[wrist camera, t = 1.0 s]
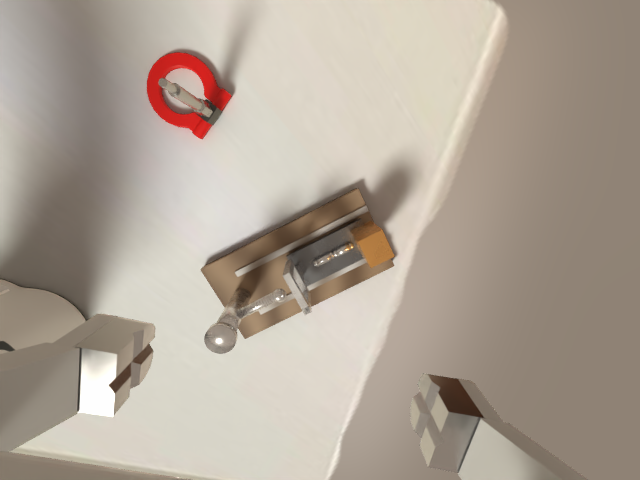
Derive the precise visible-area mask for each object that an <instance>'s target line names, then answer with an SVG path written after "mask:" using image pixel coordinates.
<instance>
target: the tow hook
mask: <svg viewBox="0 0 640 480" xmlns="http://www.w3.org/2000/svg"><path fill="white" fill-rule="evenodd" d="M178 68H187V69H190V70H192V71H194V72H195V73H196V74H197V75H198V76H199V77H200V79H201V81H202V83H203V86H204V95H205V97H206V98H207V99H208V100H210V101H211V102H212V103H211V102H209V101H208V100H207V99H206V100H205V101H204V100H203V99H199V98H196V97H195V96H193V95H192V94H191V93H189V92H188V91H186V90H185V89H183V88H182V87H181V86H179V85H178V84H176V83H171V82H169V81H168V80H166V79H165V77H166V75H167V74H168V73H169V72H170V71H172V70H174V69H178ZM162 88H164V89H165V90H167V91H168V92H169V94H170V95H171V96H172V97H174V98H176V99H178V100H179V101H181V102H183V103H184V104H186V105H188V106H189V107H191V108H192V109H193V111H194V112H195V113H194V112H192V113H190V114H178V113H175V112H174V111H172V110H171V109H170V108H169V107H168V106H167V105H166V103H165V101H164V99H163V95H162ZM147 93H148V97H149V101H150V103H151V105H152V107H153V109H154V110H155V112H156V113H157V114H158V115H159V116H160V117H161V118H162V119H164V120H165V121H166V122H168V123H170V124H173V125H175V126H178V127H183V128H189V129H190V130H192V131H193V132H192V133H193V134H194V135H196V136H197V137H198V138H200V139H203V138H204V136H205V135H206V133H207V132H208V130H209V129H210V127H211V126H212V125H214V123H215V122H216V120H217V119H218V117H219V116H220V114H221V113H222V110H223V108H224V107H225V106H226V104H227V103H228V101H229V100H230V98H231V97H232V96H231V95H230V93H228V92H227V91H226V90H225V89H223V88H222V89H220V88H219V87H218V86H217V83H216V80H215V78H214V76H213V74H212V72H211V71H210V70H209V68H208V67H207V66H206V65H205V64H204V63H203V62H202V61H201V60H199V59H198V58H197V57H195V56H192V55H190V54H187V53H180V52H176V53H171V54H167V55H165V56H163V57H161V58H160V59H159V60H158V61H157V62H156V63H155V64H154V65H153V67H152V68H151V70H150V72H149V75H148V79H147Z"/></svg>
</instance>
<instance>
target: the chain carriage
mask: <svg viewBox="0 0 640 480" xmlns="http://www.w3.org/2000/svg"><path fill="white" fill-rule="evenodd" d="M393 257H395V256H394V254H393V252H392V250H391V247H390V245H389V243H388V241H387V239H386V237H385V234H384V232H383V230H382V229H381V228H379V227H378V226H377V225H376V224H374V223H373V222H372V221H369V222H367V223H365V224H363V222H362V219H361V218H359V219H357V220H355V221H353V222H351V223H349V224H347V225H345V226H343V227H341V228H339V229H337V230H335V231H333V232H331V233H329V234H327V235H325V236H323V237H321V238H319V239H317V240H315V241H313V242H311V243H309V244H307V245H305V246H303V247H301V248H299V249H297V250H295V251H293V252H292V253H290V254H288V255H287V259H288V261H286V262H285V267H284V271H283V278H284V279H285V281H286V283H287V285H288V286H289V288H290V290H291V292H292V293H293V295H294V297H295V299H296V300H297V302H298V304H299V306H300V307H301V309H302V311H303V313H304V314H305V315H306V314H308V313H311V293H310V291H309V290H308V288H307V286H309V285H311V284H313V283H315V282H317V281H319V280H321V279H324V278H326V277H328V276H330V275H332V274H334V273H336V272H338V271H340V270H342V269H344V268H346V267H348V266H350V265H352V264H354V263H356V262H358V261H360V260H362V259H365V260H366V262H367V263H368V265H369V266H370V268H372V267H374V266H377V265H379V264H381V263H383V262H385V261H387V260H389V259H391V258H393Z"/></svg>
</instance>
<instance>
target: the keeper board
mask: <svg viewBox="0 0 640 480" xmlns="http://www.w3.org/2000/svg"><path fill="white" fill-rule="evenodd" d="M359 218H361V219H362V222H363V224H365V223H367V222H369V221H372V222H373V223H374V221H373V219H372V217H371V215H370V213H369V210H368V208H367V205H366V204H365V202H364V200H363V198H362V195H361V193H360V191H359V189H357V188H356V189H354V190H352V191H350V192H348V193H346V194H344V195H342V196H341V197H339V198H337V199H335V200H333V201H331V202H329V203H327V204H325V205H323V206H321V207H319V208H317V209H315V210H313V211H311V212H309V213H307V214H305V215H303V216H301V217H299V218H297V219H296V220H294V221H292V222H290V223H288V224H286V225H284V226H282V227H280V228H278V229H276V230H274V231H272V232H270V233H268V234H266V235H264V236H262V237H260V238H258V239H256V240H254V241H252V242H251V243H249V244H247V245H245V246H243V247H241V248H239V249H237V250H235V251H233V252H231V253H229V254H227V255H225V256H223V257H221V258H219V259H217V260H215V261H213V262H211V263H209V264H208V265H206V266H204V267H203V268H202V269H201V271H202V273H203V274H204V276H205V278H206V279H207V281H208V282H209V284H210V285H211V287H212V288H213V290H214V292H215V293H216V295H217V296H218V298H219V299H220V301H221V302H222V304H223V306H224V307H226V306H227V304H228V302H229V301H230V299H231V297H232V295H233V294H234V292H235V291H236V290H237V289H239V288H244V289H247V290H248V291H249V292H250V295H251V298H250V301H249V303H248V304H250V303H252V302H254V301H256V300H258V299H260V298H262V297H264V296H266V295H268V294H270V293H272V292H274V291H275V290H276V289H279V288H281V289H283V290H285V292H286V299H285V300H284V301H283V302H275V303H273V304H271V305H269V306H267V307H265V308H263V309H261V310H259V311H257V312H255V313H253V314H250V315H248V316H246V317H244V318H242V319H241V322H240V324H239V326H238V329H239V330H240V332H241V334H242V335H243V337H244V338H245V339H246V338H248V337H250V336H252V335H254V334H256V333H258V332H260V331H262V330H265V329H267V328H269V327H271V326H273V325H275V324H277V323H279V322H281V321H283V320H285V319H287V318H289V317H291V316H293V315H295V314H297V313H299V312H301V311H302V309H301V307H300V306H299V304H298V302H297V300H296V299H295V297H294V295H293V293H292V292H291V290H290V288H289V286H288V285H287V283H286V281H285V279H284V278H283V271H284V267H285V262H286V261H288V259H287V255H288V254H290V253H292V252H293V251H295V250H297V249H299V248H301V247H303V246H305V245H307V244H309V243H311V242H313V241H315V240H317V239H319V238H321V237H323V236H325V235H327V234H329V233H331V232H333V231H335V230H337V229H339V228H341V227H343V226H345V225H347V224H349V223H351V222H353V221H355V220H357V219H359ZM374 224H375V223H374ZM393 266H394V264H393V262H392V260H391V259H389V260H387V261H385V262H383V263H381V264H379V265H377V266H374V267H372V268H370V266H369V265H368V263H367V262H366V260H365V259H362V260H360V261H358V262H356V263H354V264H352V265H350V266H348V267H346V268H344V269H342V270H340V271H338V272H336V273H334V274H332V275H330V276H328V277H326V278H324V279H321V280H319V281H317V282H315V283H313V284H311V285H309V286H307V288H308V290H309V291H310V293H311V306H314V305H316V304H318V303H320V302H322V301H324V300H326V299H328V298H330V297H332V296H334V295H336V294H338V293H340V292H342V291H344V290H346V289H348V288H350V287H352V286H354V285H356V284H358V283H360V282H363V281H365V280H367V279H369V278H371V277H373V276H375V275H377V274H379V273H381V272H383V271H385V270H387V269H389V268H391V267H393Z"/></svg>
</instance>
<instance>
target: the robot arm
mask: <svg viewBox="0 0 640 480" xmlns="http://www.w3.org/2000/svg"><path fill="white" fill-rule="evenodd" d="M154 338H155V326H154V324H152V323H147V322H142V321H138V320H133V319H128V318H123V317H118V316H113V315H107V314H96V315H95V316H93V317H92V318H90V319H89V320H87V321H86V320H85V319H84V317H83V316H82V314H81V313H80V312H79V311H78V309H77V308H76V307H74V306H73V305H72V304H71V303H70V302H68V301H67V300H65V299H64V298H62V297H60V296H58V295H56V294H54V293H51V292H48V291H45V290H40V289H33V288H23V287H19V286H17V285H15V284H13V283H10V282H8V281H5V280H1V279H0V480H191V479H185V478H178V477H172V476H165V475H158V474H152V473H145V472H138V471H132V470H125V469H118V468H112V467H105V466H98V465H92V464H85V463H79V462H72V461H65V460H59V459H52V458H45V457H39V456H32V455H25V454H19V453H12V452H10V451H11V450H13V449H15V448H17V447H18V446H20V445H22V444H24V443H26V442H27V441H29V440H31V439H33V438H35V437H36V436H38V435H40V434H42V433H44V432H45V431H47V430H49V429H51V428H53V427H54V426H56V425H58V424H60V423H61V422H63V421H65V420H67V419H69V418H70V417H72V416H74V415H76V414H77V412H83V413H91V414H98V415H106V416H114V414H115V413H116V412H117V411H118V410H119V408H120V407H121V406H122V405H123V404H124V402H125V401H126V400H127V399H128V398H129V394H130V389H131V388H133V387H135V386H137V385H139V384H140V383H141V382H142V380H143V379H144V378H145V376H146V374H147V372H148V370H149V368H150V366H151V362H152V359H153V349H152V348H151V346H150V344H149V343H150V342H151V341H152V340H153V339H154ZM418 387H419V389H420V392H419V393H418V394H416V395H415V396H414V397H413V400H412V403H411V411H410V417H411V423H412V426H413V429H414V431H415V432H416V433H417V434H418V435H419V436H420V437H421V438H422V439H421V442H420V448H421V450H422V453H423V455H424V458H425V460H426V463H427V466H428V467H430V468H435V469H440V470H445V471H451V472H455V473H458V475H459V476H460V478H461V479H462V480H589V479H587V478H585V477H584V476H583V475H581V474H580V473H578V472H577V471H576V470H574V469H573V468H572V467H570V466H569V465H567V464H566V463H565V462H563V461H562V460H560V459H559V458H558V457H556V456H555V455H553V454H552V453H550V452H549V451H548V450H546V449H545V448H543V447H542V446H541V445H539V444H538V443H536V442H535V441H534V440H532V439H531V438H529V437H528V436H526V435H525V434H523V433H522V432H521V431H519V430H518V429H516V428H515V427H514V426H512V425H511V424H510V423H506V422H503V420H502V419H501V418H500V417H499V415H498V414H497V412H496V411H495V410H494V408H493V407H492V406H491V405H490V403H489V402H488V401H487V399H486V398H485V396H484V395H483V394H482V392H481V391H480V390H479V388H478V387H477V386H476V384H475V383H473V382H472V381H470V380H464V379H457V378H449V377H443V376H436V375H430V374H424V373H423V374H422V376H421V377H420V379H419V382H418Z"/></svg>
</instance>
